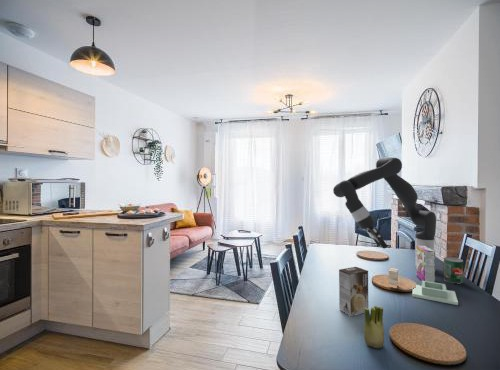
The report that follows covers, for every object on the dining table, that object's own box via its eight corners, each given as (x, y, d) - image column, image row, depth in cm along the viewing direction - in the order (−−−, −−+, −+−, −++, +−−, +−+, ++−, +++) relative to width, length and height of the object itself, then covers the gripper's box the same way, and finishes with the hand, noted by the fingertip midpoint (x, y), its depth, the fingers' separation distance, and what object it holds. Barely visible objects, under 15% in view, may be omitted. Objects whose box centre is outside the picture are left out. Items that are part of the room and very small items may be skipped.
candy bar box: (415, 276, 145) (415, 245, 145) (425, 276, 144) (425, 245, 144) (424, 283, 134) (424, 250, 134) (435, 284, 133) (435, 251, 133)
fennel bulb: (364, 348, 83) (364, 308, 82) (363, 339, 87) (363, 301, 87) (385, 352, 81) (385, 311, 80) (383, 343, 85) (384, 304, 85)
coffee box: (356, 305, 111) (356, 266, 111) (368, 312, 105) (369, 270, 105) (338, 309, 107) (338, 269, 107) (350, 317, 101) (350, 274, 101)
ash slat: (389, 284, 134) (389, 268, 134) (397, 285, 132) (397, 269, 132) (388, 287, 130) (388, 270, 130) (397, 288, 128) (397, 271, 128)
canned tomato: (460, 285, 132) (461, 262, 132) (441, 280, 138) (441, 259, 138) (464, 281, 138) (464, 259, 138) (445, 277, 144) (446, 256, 143)
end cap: (412, 286, 130) (413, 277, 130) (454, 294, 122) (454, 284, 122) (412, 296, 119) (412, 286, 119) (458, 305, 111) (458, 294, 111)
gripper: (373, 213, 125) (395, 244, 123) (365, 213, 139) (385, 240, 137) (359, 222, 126) (380, 252, 123) (353, 220, 140) (372, 248, 137)
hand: (382, 246), depth 130 cm, fingers open, 8 cm apart
